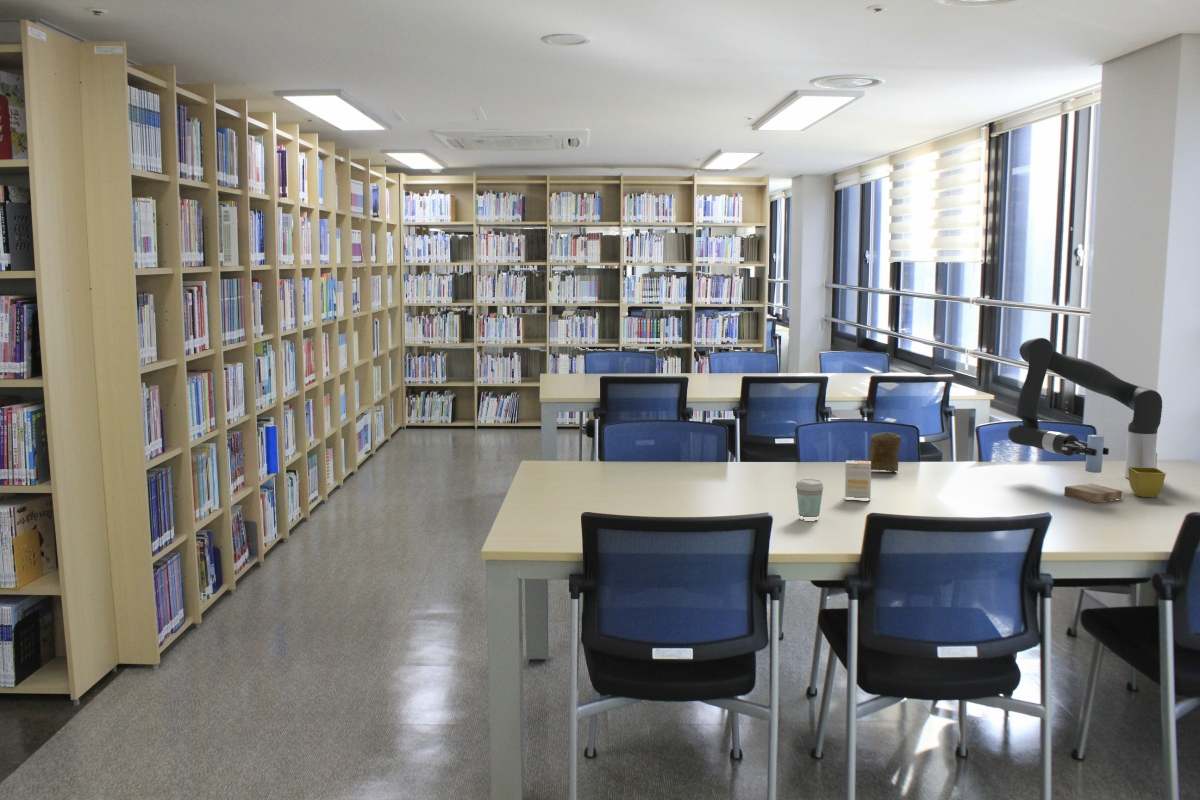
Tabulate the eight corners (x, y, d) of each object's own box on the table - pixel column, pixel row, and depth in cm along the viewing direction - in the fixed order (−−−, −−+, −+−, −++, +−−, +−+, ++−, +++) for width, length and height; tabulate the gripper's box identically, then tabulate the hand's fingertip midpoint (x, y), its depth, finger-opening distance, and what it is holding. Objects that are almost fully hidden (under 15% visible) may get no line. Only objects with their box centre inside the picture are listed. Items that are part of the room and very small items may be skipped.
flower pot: (1164, 499, 302) (1166, 473, 301) (1135, 498, 304) (1137, 472, 302) (1153, 493, 310) (1155, 467, 309) (1126, 492, 312) (1127, 466, 311)
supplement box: (870, 498, 307) (871, 460, 305) (869, 502, 302) (871, 463, 301) (845, 497, 310) (846, 459, 308) (844, 500, 305) (845, 462, 303)
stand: (1090, 492, 313) (1091, 483, 313) (1121, 499, 302) (1121, 491, 301) (1064, 495, 309) (1064, 486, 308) (1094, 503, 298) (1095, 494, 297)
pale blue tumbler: (1092, 469, 307) (1095, 434, 306) (1104, 472, 303) (1107, 436, 301) (1081, 470, 306) (1084, 435, 304) (1094, 473, 301) (1096, 437, 299)
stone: (865, 472, 348) (866, 433, 346) (872, 467, 356) (873, 430, 354) (895, 475, 342) (896, 436, 340) (901, 470, 350) (902, 432, 348)
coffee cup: (791, 516, 286) (792, 478, 284) (817, 515, 287) (818, 478, 285) (799, 523, 277) (800, 485, 276) (826, 522, 278) (827, 484, 276)
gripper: (1044, 433, 314) (1086, 442, 298) (1076, 431, 318) (1118, 439, 303) (1043, 455, 315) (1084, 464, 299) (1074, 452, 320) (1117, 461, 304)
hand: (1101, 452), depth 301 cm, fingers closed on pale blue tumbler, 4 cm apart
